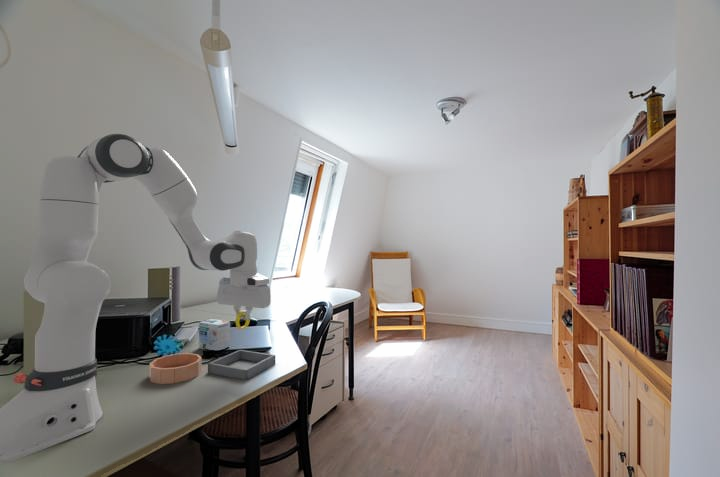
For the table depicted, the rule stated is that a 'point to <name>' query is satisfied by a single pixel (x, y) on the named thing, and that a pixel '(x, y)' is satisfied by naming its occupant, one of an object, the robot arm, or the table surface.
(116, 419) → the table surface
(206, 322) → the light bulb box
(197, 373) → the bowl
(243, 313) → the watch
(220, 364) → the parts tray
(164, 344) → the gear
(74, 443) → the table surface
